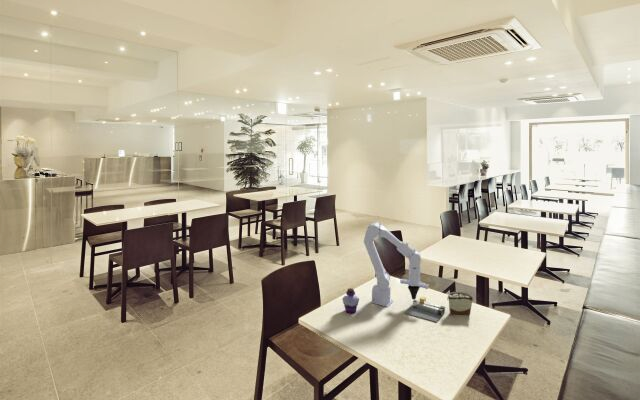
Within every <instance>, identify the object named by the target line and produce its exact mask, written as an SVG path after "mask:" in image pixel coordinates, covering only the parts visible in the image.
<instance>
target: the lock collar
mask: <svg viewBox="0 0 640 400" xmlns="http://www.w3.org/2000/svg"><path fill="white" fill-rule="evenodd" d="M419 301H420V303H423V304H424V303H425V302H427V297H426V296H420V298H419Z"/></svg>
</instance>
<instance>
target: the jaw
mask: <svg viewBox="0 0 640 400" xmlns="http://www.w3.org/2000/svg"><path fill="white" fill-rule="evenodd" d="M416 300H417V299H415V300H414V299H413V301H412V304H413V308H418V309H421V310H424V311H428V312H431V313H434V314H437V315H440V316H441V317H442V316H443V314H444V313H443V309H440V308H436V307H433V306H429V305H426V304H422V303H419V302H418V301H416Z"/></svg>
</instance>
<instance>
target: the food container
mask: <svg viewBox="0 0 640 400" xmlns="http://www.w3.org/2000/svg"><path fill="white" fill-rule="evenodd" d="M447 301H448V307H449V316H456V317H458V316H461V317H464V316H466V317H470V315H471V310H472V306H473V305H472V304H473V302H474V297H473V295H471V294H469V293H466V292H463V291H452V292H449V293H448V294H447Z"/></svg>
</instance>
